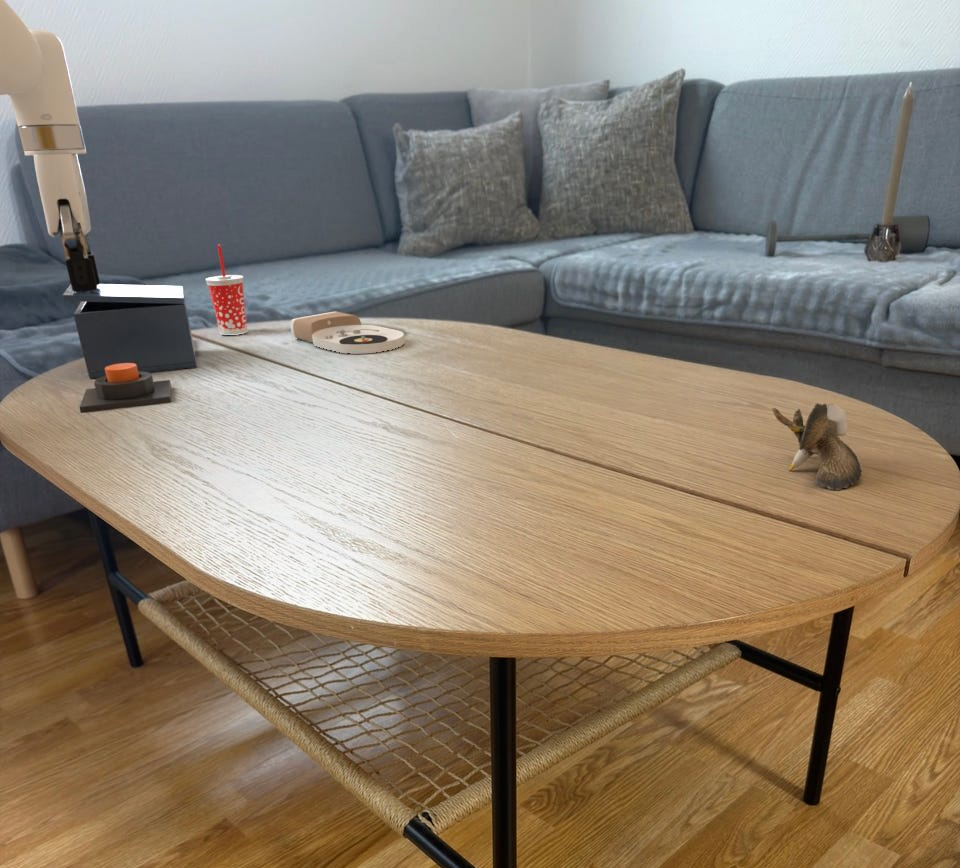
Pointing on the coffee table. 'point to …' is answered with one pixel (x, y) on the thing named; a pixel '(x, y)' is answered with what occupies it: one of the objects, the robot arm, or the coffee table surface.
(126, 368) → the button
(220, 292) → the beverage cup
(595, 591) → the coffee table surface
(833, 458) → the eagle figurine
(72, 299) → the lid
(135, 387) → the control block
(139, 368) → the dark grey box
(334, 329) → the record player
